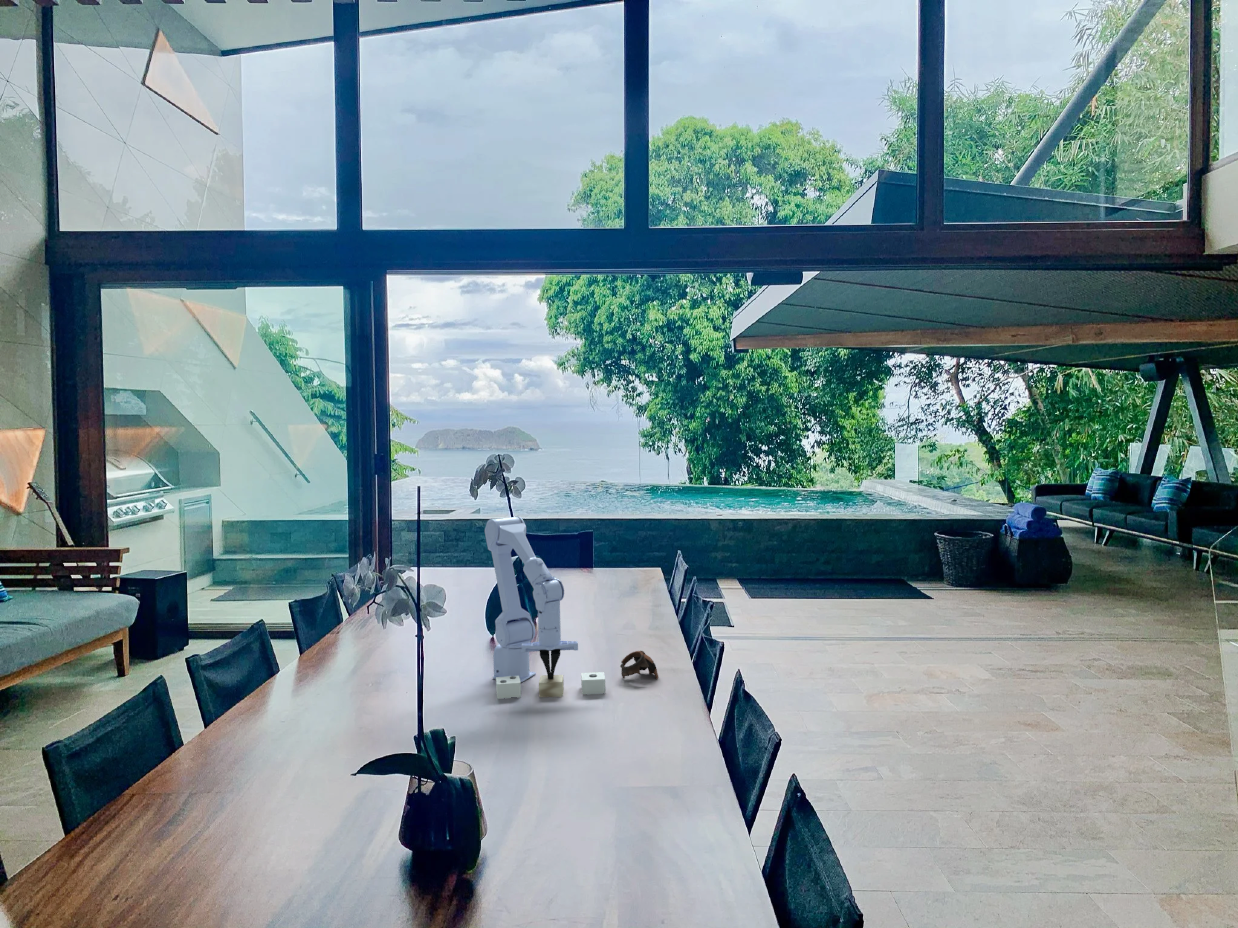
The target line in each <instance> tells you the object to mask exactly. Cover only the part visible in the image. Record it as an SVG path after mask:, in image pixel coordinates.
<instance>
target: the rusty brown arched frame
mask: <svg viewBox="0 0 1238 928" xmlns="http://www.w3.org/2000/svg"><path fill="white" fill-rule="evenodd" d="M631 660H633V661H634V663H632V664H630V665H629V666H628V665H627V666H626V664H628V663H629V662H630V661H631ZM619 667H620V668H621V677H622V678H623V679H625V677H630V676H633V675H637V674H638V675H641V671H646V670H647V671H648V674H649V675H653V674H654V676H655V677H654V678H655V680H658V679H659V673H658V669H657V667H656V663H655V662H654V660H653V659H652V658H651V656H649V655H648V654H646V652H645V651H643V650H635V651H632V652H630V653H628V654H627V655H626V656H625V657H623V658H622V660H621V664H620V666H619Z"/></svg>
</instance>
